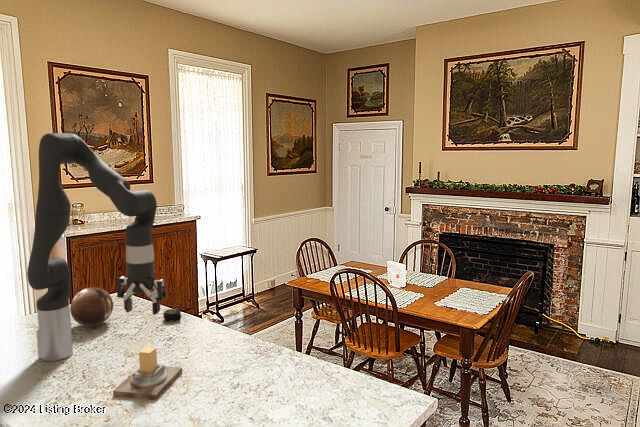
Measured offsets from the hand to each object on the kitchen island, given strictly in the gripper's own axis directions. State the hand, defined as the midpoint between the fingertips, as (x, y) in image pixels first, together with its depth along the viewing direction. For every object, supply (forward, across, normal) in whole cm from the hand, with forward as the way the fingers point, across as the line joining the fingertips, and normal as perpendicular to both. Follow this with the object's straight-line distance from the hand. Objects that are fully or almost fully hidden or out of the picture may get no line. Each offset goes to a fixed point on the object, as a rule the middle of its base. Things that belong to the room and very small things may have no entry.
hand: (142, 312), depth 135 cm
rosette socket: (+21, +3, -2) cm, 21 cm away
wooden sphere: (+22, -43, +35) cm, 60 cm away
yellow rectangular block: (+18, +3, -2) cm, 19 cm away
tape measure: (+22, -14, +47) cm, 54 cm away
